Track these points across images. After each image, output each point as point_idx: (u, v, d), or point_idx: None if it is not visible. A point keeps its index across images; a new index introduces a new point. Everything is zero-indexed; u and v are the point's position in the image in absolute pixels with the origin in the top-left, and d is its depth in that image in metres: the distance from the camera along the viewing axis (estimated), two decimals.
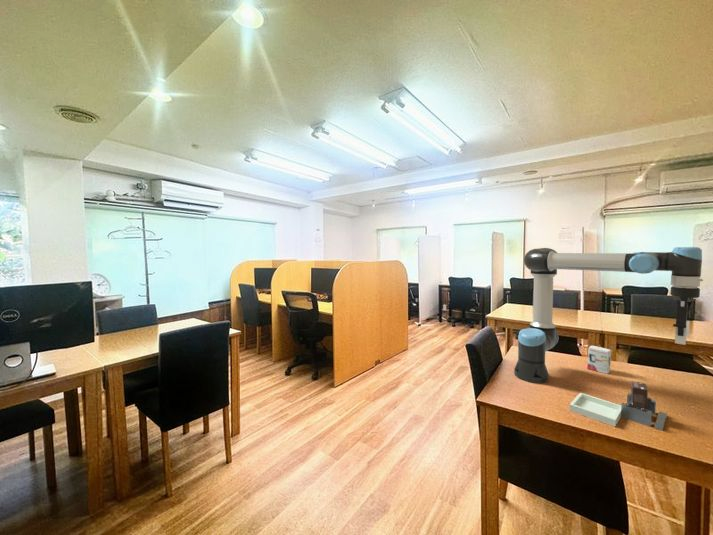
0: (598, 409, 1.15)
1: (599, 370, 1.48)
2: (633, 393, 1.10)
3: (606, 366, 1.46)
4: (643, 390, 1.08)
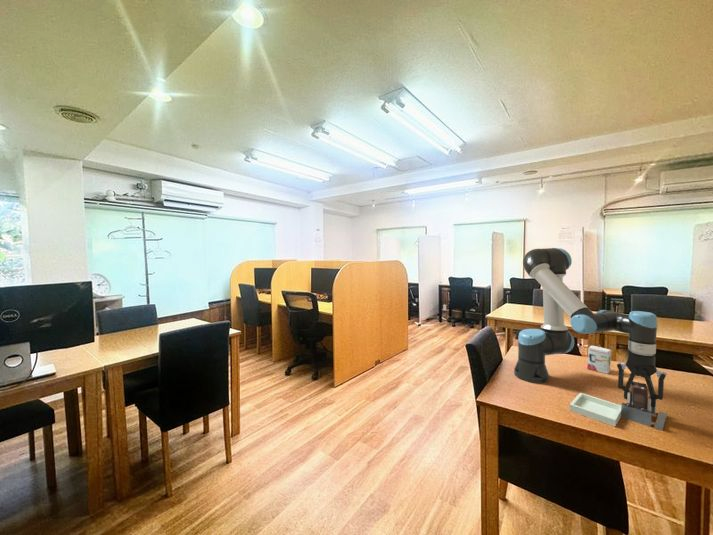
0: (598, 409, 1.15)
1: (599, 370, 1.48)
2: (633, 393, 1.10)
3: (606, 366, 1.46)
4: (644, 390, 1.08)
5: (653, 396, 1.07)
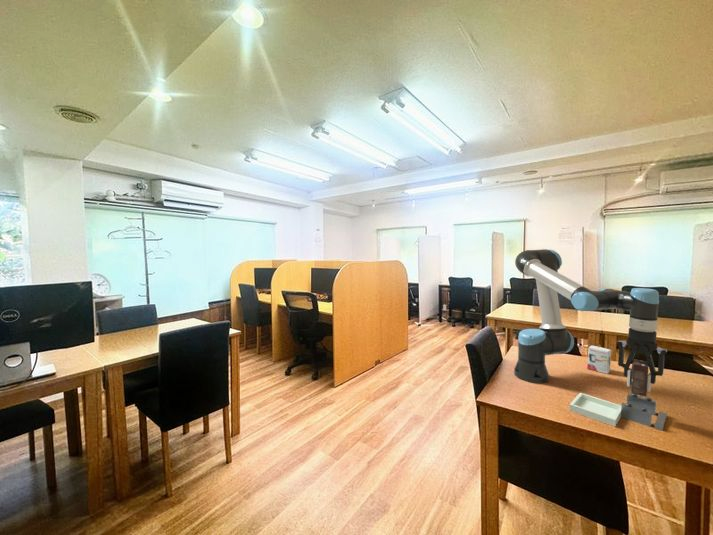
0: (598, 409, 1.15)
1: (599, 370, 1.48)
2: (633, 370, 1.10)
3: (606, 366, 1.46)
4: (644, 367, 1.07)
5: (653, 372, 1.07)
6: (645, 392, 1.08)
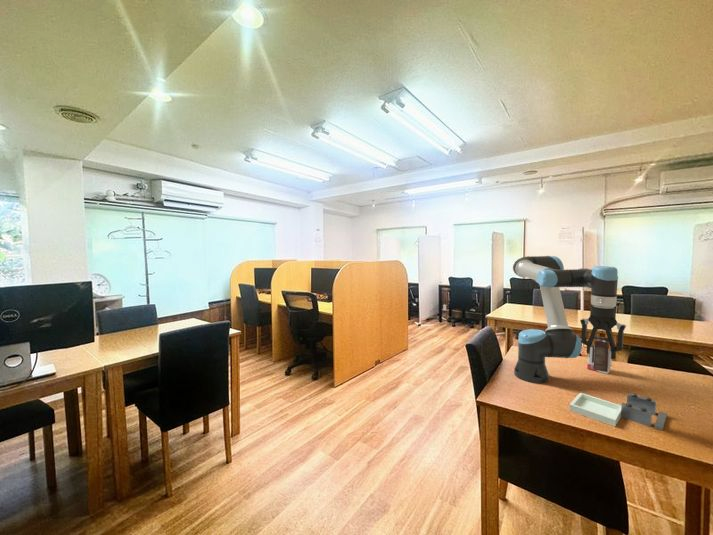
0: (598, 409, 1.15)
1: None
2: (595, 346, 1.12)
3: None
4: (605, 342, 1.09)
5: (613, 348, 1.09)
6: (606, 368, 1.10)
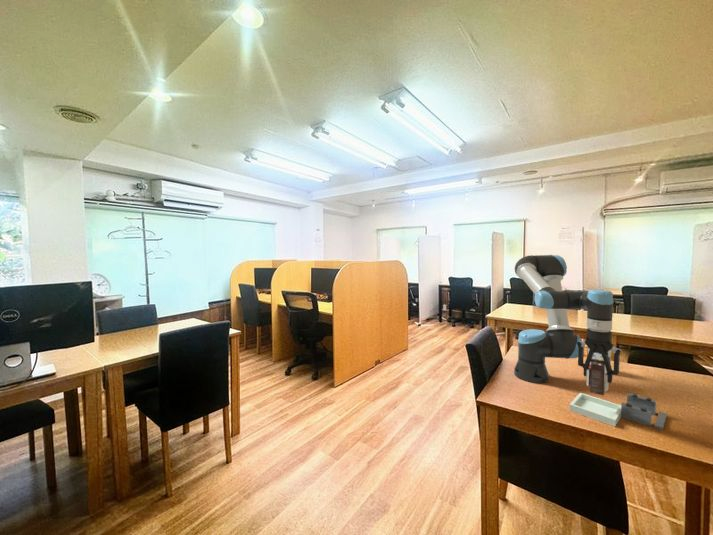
0: (598, 409, 1.15)
1: None
2: (591, 369, 1.12)
3: None
4: (601, 366, 1.10)
5: (609, 372, 1.10)
6: (602, 391, 1.11)
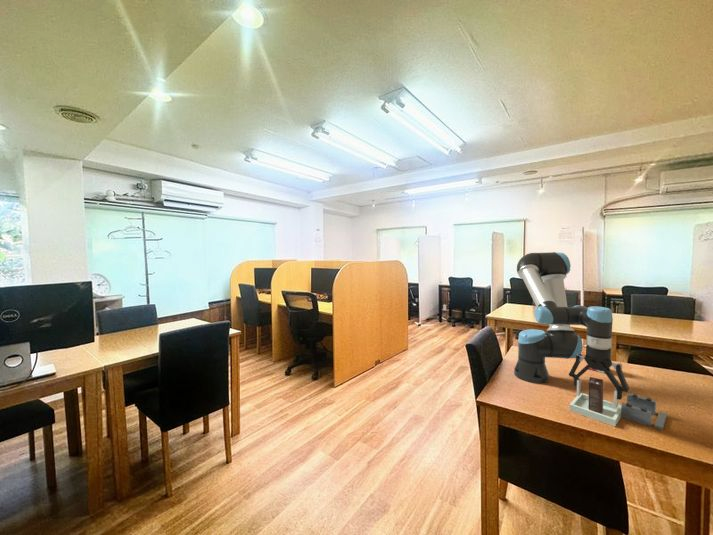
0: None
1: None
2: (589, 388, 1.13)
3: None
4: (598, 385, 1.11)
5: (618, 388, 1.08)
6: (600, 410, 1.11)
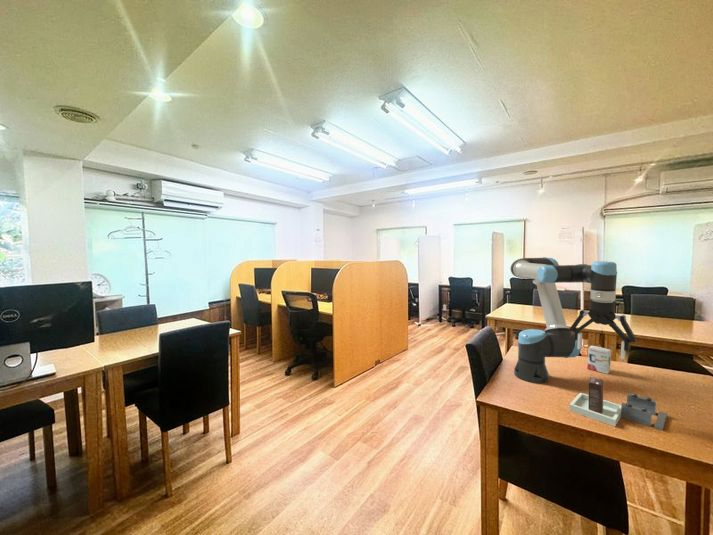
0: None
1: (599, 370, 1.48)
2: (589, 388, 1.13)
3: (606, 366, 1.46)
4: (598, 385, 1.11)
5: (625, 339, 1.08)
6: (600, 410, 1.11)
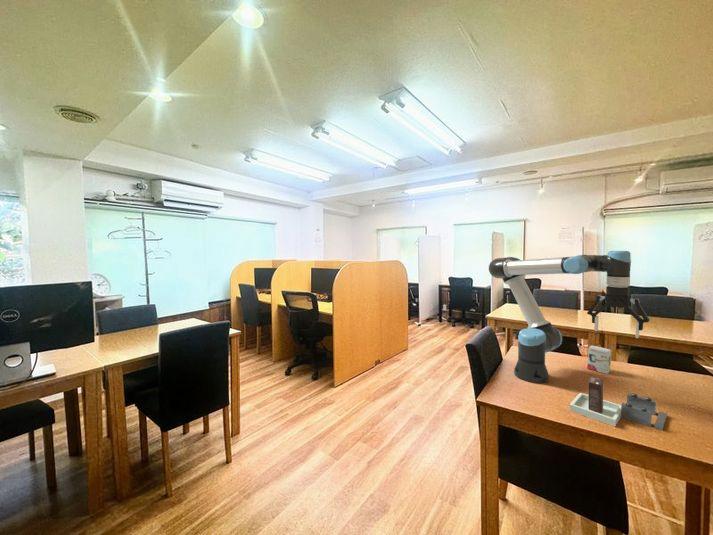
0: None
1: (599, 370, 1.48)
2: (589, 388, 1.13)
3: (606, 366, 1.46)
4: (598, 385, 1.11)
5: (640, 320, 1.19)
6: (600, 410, 1.11)
